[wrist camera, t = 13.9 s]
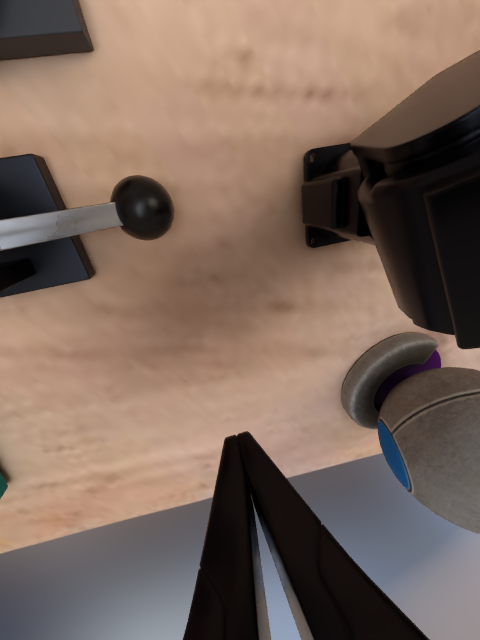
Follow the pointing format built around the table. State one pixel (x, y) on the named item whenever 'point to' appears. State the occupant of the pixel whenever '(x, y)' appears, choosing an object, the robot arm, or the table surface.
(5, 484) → the digital multimeter
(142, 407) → the table surface
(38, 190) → the lever bracket
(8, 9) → the button block
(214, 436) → the table surface
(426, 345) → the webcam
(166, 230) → the lever handle
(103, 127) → the table surface
